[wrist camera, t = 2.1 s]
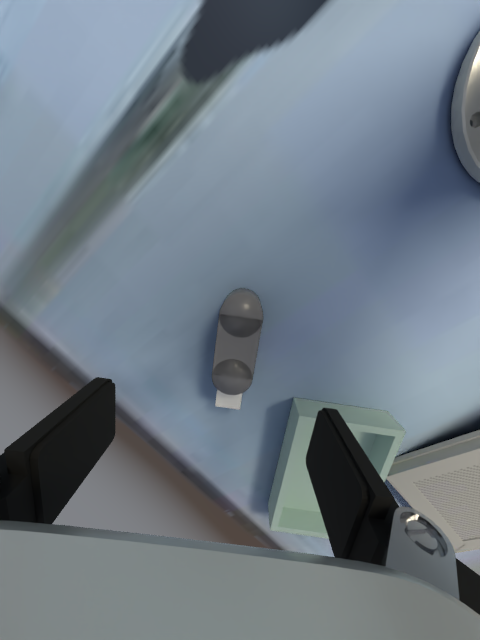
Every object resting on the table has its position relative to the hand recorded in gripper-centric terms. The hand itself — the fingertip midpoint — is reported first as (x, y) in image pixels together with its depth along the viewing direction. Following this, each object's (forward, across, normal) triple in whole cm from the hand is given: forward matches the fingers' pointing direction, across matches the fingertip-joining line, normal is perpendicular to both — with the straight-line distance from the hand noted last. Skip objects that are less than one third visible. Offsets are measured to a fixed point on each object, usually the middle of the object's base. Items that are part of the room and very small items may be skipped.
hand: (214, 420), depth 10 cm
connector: (+11, -1, 0) cm, 11 cm away
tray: (+11, -12, +12) cm, 20 cm away
